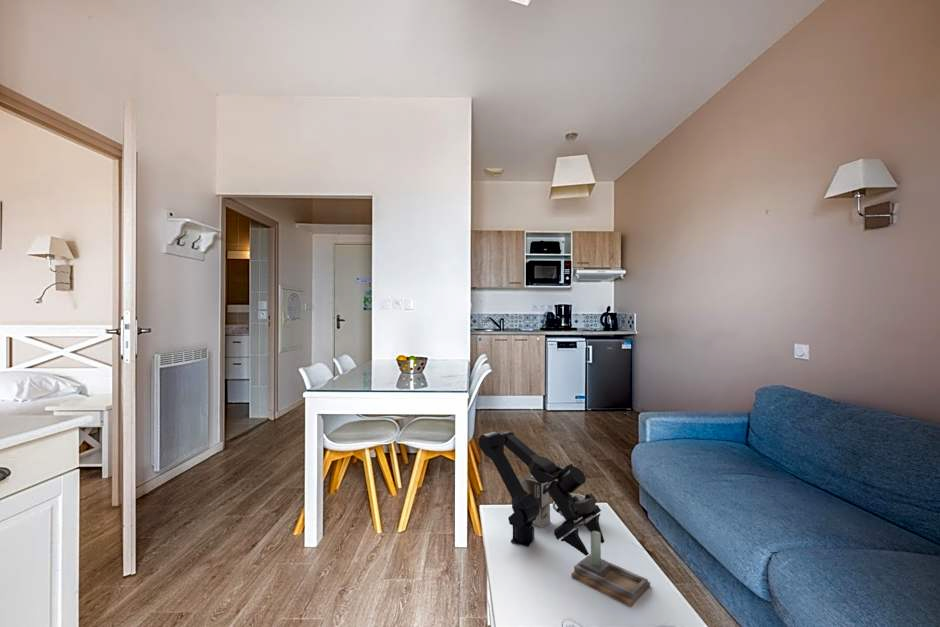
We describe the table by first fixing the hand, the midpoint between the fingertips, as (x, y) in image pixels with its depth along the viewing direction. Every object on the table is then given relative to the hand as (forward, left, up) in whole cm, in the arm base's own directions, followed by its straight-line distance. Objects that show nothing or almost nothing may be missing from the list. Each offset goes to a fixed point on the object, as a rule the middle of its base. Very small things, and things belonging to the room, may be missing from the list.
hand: (595, 548), depth 127 cm
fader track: (+4, -2, -8) cm, 9 cm away
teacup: (-14, +30, -8) cm, 34 cm away
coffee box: (-26, +24, -8) cm, 36 cm away
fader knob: (0, 0, -6) cm, 6 cm away
